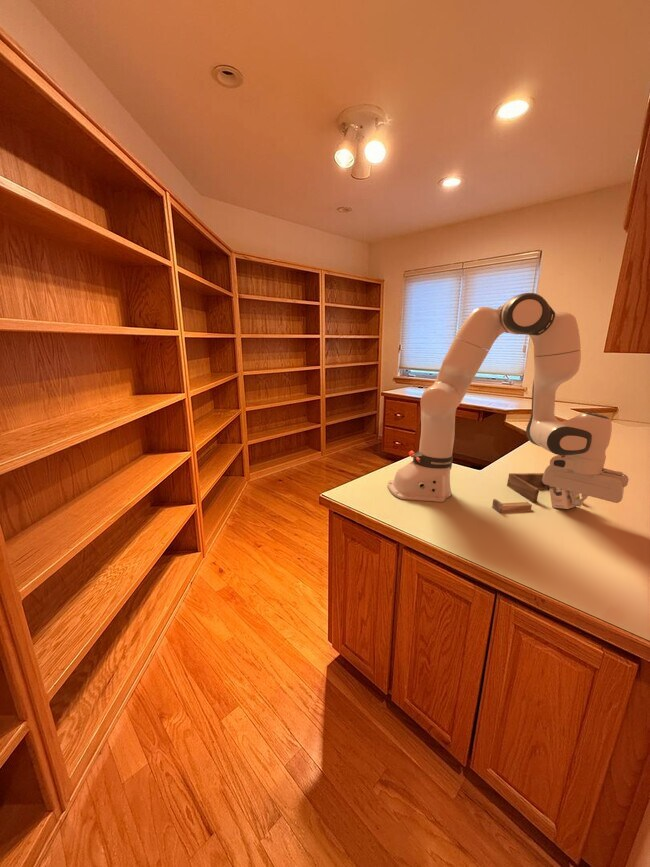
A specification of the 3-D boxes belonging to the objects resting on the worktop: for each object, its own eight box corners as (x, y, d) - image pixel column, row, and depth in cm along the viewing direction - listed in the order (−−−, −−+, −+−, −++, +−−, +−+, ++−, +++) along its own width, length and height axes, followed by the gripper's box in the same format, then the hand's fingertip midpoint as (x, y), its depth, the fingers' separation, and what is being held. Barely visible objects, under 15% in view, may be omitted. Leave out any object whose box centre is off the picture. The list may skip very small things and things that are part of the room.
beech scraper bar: (532, 511, 105) (534, 502, 104) (499, 513, 103) (500, 504, 102) (524, 506, 109) (526, 497, 108) (491, 508, 107) (493, 499, 106)
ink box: (565, 502, 112) (560, 468, 113) (581, 504, 108) (576, 468, 108) (551, 507, 108) (546, 472, 109) (567, 509, 104) (562, 472, 104)
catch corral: (533, 502, 111) (536, 489, 110) (506, 485, 125) (509, 473, 123) (577, 502, 113) (580, 488, 111) (546, 485, 126) (549, 473, 125)
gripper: (631, 471, 95) (620, 513, 99) (550, 454, 110) (543, 492, 113) (628, 476, 91) (617, 520, 95) (544, 458, 106) (537, 497, 109)
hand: (576, 505), depth 104 cm, fingers closed
